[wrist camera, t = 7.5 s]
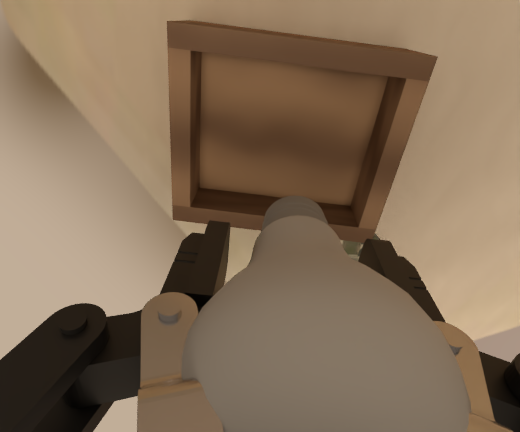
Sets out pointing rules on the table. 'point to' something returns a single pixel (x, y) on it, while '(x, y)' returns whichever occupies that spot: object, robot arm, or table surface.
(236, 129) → the wooden tray
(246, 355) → the lightbulb
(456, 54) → the table surface
